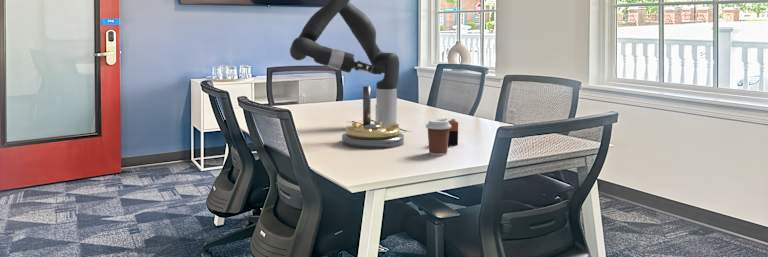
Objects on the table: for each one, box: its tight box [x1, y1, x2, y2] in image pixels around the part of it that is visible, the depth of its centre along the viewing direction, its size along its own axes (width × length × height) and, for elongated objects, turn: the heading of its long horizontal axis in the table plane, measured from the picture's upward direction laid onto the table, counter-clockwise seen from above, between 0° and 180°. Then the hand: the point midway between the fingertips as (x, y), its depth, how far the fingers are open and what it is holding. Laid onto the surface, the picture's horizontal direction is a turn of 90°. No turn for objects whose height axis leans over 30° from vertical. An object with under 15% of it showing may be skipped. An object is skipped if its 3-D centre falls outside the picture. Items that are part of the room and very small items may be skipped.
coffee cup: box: [425, 118, 451, 156], centre depth 229 cm, size 9×9×12 cm
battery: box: [443, 118, 459, 146], centre depth 246 cm, size 4×7×10 cm, turn 97°
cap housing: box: [341, 132, 405, 150], centre depth 250 cm, size 24×24×3 cm
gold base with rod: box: [345, 85, 401, 139], centre depth 248 cm, size 21×21×18 cm
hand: (379, 72), depth 255 cm, fingers open, 8 cm apart
